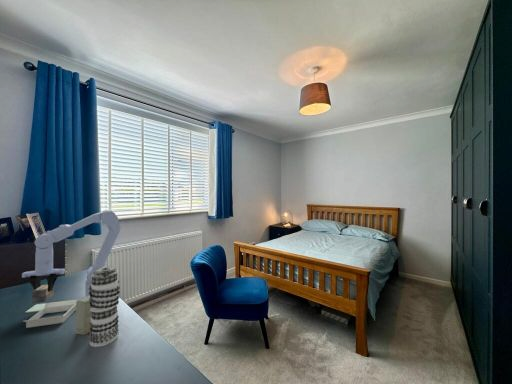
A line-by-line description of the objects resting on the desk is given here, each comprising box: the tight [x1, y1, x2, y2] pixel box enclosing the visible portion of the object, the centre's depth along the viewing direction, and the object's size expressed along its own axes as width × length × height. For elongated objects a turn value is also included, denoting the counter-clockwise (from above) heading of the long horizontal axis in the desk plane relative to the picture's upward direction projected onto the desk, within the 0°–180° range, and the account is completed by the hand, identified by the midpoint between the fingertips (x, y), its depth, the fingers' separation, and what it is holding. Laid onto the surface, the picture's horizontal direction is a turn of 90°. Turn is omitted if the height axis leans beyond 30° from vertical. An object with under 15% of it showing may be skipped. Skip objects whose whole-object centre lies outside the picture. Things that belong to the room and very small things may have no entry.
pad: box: [24, 302, 48, 314], centre depth 99 cm, size 7×7×1 cm
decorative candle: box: [88, 266, 121, 348], centre depth 78 cm, size 9×9×25 cm
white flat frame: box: [22, 298, 80, 329], centre depth 91 cm, size 12×14×4 cm
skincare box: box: [75, 295, 92, 336], centre depth 83 cm, size 6×4×12 cm
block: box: [31, 283, 54, 304], centre depth 96 cm, size 4×7×5 cm, turn 18°
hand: (43, 291), depth 97 cm, fingers closed on block, 4 cm apart
